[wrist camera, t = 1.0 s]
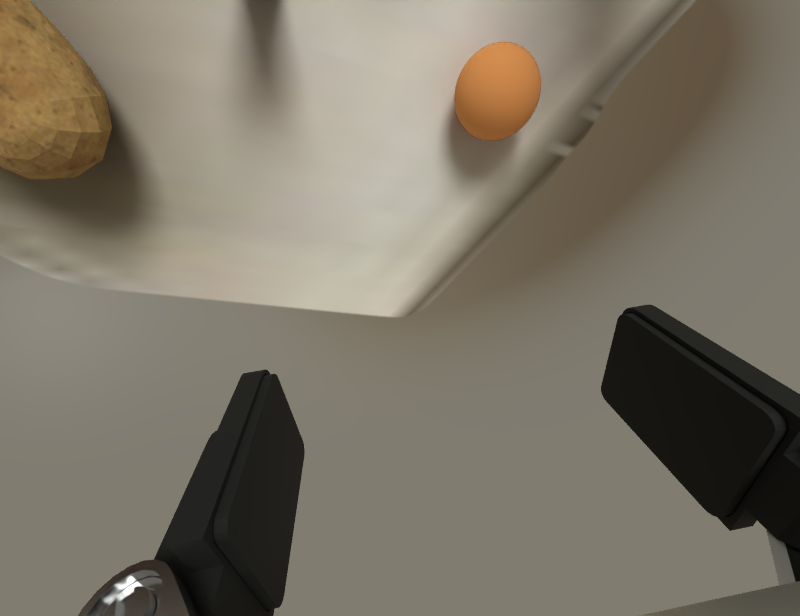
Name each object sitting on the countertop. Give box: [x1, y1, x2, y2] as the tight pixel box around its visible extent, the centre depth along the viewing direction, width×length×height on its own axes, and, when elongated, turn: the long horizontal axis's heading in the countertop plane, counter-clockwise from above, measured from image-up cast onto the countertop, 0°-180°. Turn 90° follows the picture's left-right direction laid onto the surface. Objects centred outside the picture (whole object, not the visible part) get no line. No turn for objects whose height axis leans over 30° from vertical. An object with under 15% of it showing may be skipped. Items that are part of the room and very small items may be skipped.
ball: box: [454, 42, 541, 141], centre depth 24 cm, size 6×6×6 cm
